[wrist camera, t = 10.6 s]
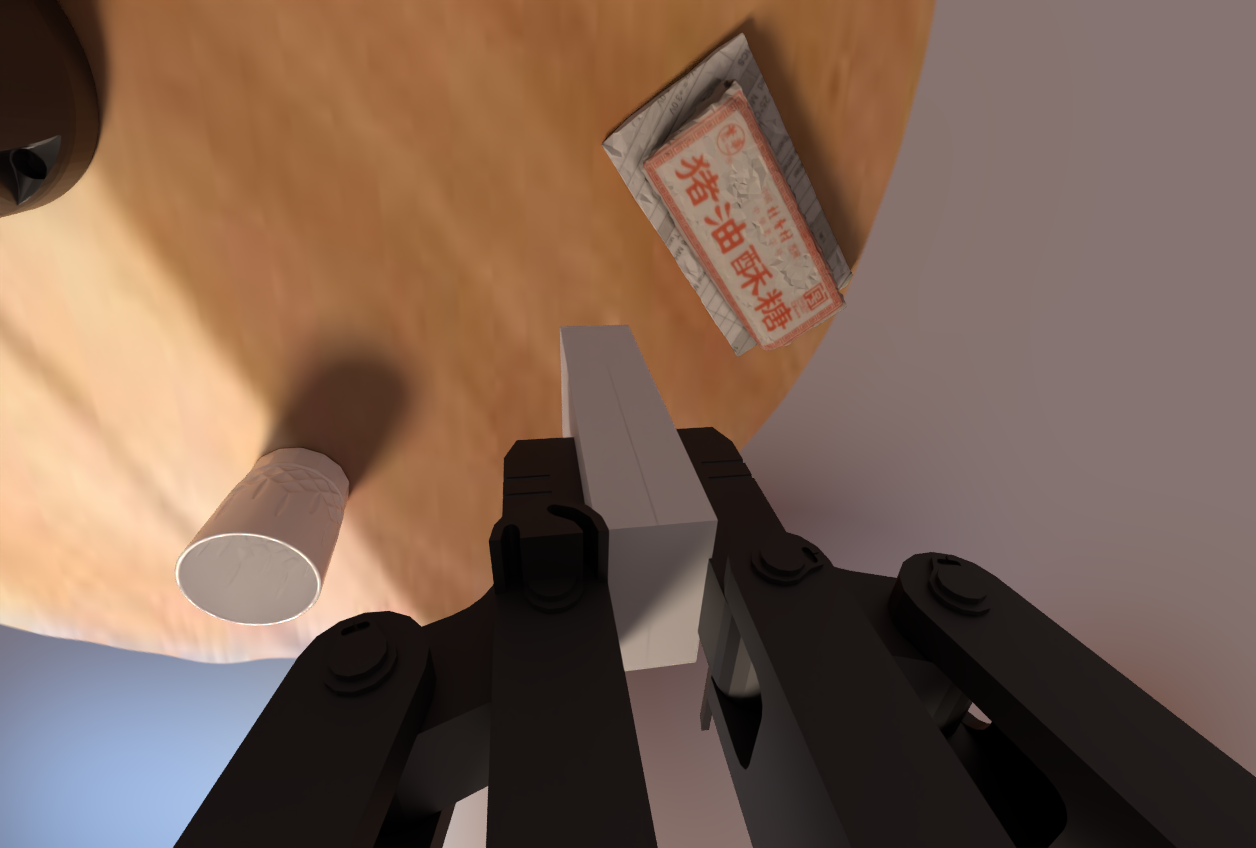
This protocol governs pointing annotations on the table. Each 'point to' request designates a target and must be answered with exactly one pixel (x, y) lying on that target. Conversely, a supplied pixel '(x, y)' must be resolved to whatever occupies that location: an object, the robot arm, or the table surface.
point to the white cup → (268, 541)
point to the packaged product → (733, 201)
